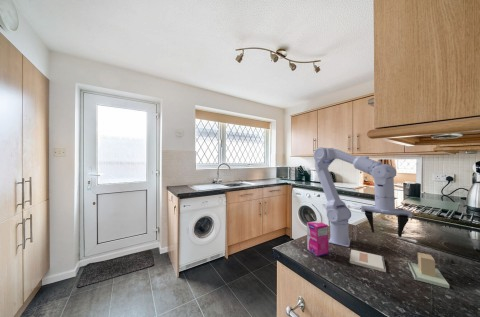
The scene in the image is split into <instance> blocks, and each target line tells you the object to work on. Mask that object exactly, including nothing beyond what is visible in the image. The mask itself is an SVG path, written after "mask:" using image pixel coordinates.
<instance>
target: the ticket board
mask: <svg viewBox="0 0 480 317" xmlns="http://www.w3.org/2000/svg"><path fill="white" fill-rule="evenodd" d="M350 250H351V251H350V255H349V264H353V265H356V266H360V267H364V268H367V269H371V270H376V271H379V272H383V273H387V268H386V264H385V263H386V262H385V260H384V259H385V258H384V255H379V254H374V253H370V252H369V253H368V252H365V251H360V250H356V249H350Z"/></svg>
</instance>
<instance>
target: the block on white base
mask: <svg viewBox="0 0 480 317" xmlns="http://www.w3.org/2000/svg"><path fill="white" fill-rule="evenodd" d="M407 265H408V267H409V270H410V272H411V274H412V276H413V279H414V280H415V281H419V282H424V283H427V284H431V285H435V286H438V287H442V288H446V289H450V284H449V283H448V281H447V280H446V279H445V277H444V276H443V274H442V273H441V272H440V270H439V269H438V267H437V268H436V262H435V259H434V257H433V256H432V255H431V254H429V253H423V252H418V251H417V263H414V262H410V261H408V262H407Z"/></svg>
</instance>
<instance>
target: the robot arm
mask: <svg viewBox="0 0 480 317" xmlns="http://www.w3.org/2000/svg"><path fill="white" fill-rule="evenodd" d="M312 156H313V159H314V169H315V172H316V173H317V177H318V179H319V182H320V185H321V188H322V190H323V193H324V195H325V199H326V201H327V203H326V205H325V210H326V217H327V219H328V220H329V225H330V226H329V229H330V232H329V233H330V236H329V237H330V238H328V244H332V245H333V244H334V245H337V246H342V247H347V248H348V247H350V245H351V238H349V220H350V219H351V217H352V212H351V209H350V208H349V207H348V206H347V204H346V202H345V201H343V200H342V199H341V198H340V195H339V193H338V190H337V188H336V186H335V183H334V181H333V177H332V175H331V174H330V171H329V167H330V165H331V164H333V162H334V161H335V160H337V159H338V160H341V161H344V162H346V163H349V164H350V165H351V164H352V165H353V167H354V169H356V170H358V171H360V172H362V173H365V174H367V175H369V176H371V177H372V178H373V180H374V181H373V182H374V185H373V186H374V204H375V205H374V206H371V205H370V206H368V205H367V206H366V205H361V207H360V210H361V212H362V213H364V214H365V217H366V219H367V222H368V223H369V226H370V230H371V233H375V227H374V214H381V215H391V216H396V217H397V219H396V220H397V236H398V238H402V234H403V231H404V228H405V226H406V225H407V223H408V222H409V220H410V218H413V211H412V210H405V209H399V208H396V205H395V204H396V203H395V202H396V201H395V180H394V178H395V177H396V176H397V170H396V168H395V166H393V165H391V164H389V163H385V164H384V163H382V161H381V160H374V159H371V158H370V157H369V156H368V155H360V156H358V157H357V156H354V155H353V154H350V153H348V152H345V151H343V150H340V149H337V148H333V147H321V146H320V147H317V148H316V149H315V150H314V152H313V154H312Z"/></svg>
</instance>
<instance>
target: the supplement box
mask: <svg viewBox="0 0 480 317" xmlns="http://www.w3.org/2000/svg"><path fill="white" fill-rule="evenodd" d="M306 237H307V238H306V239H307V240H306V242H307V245H306V246H307V251H308V252H310V253H311V254H313V255H315V256H316V257H323V256H326V255H329V254H330V252H329V250H330V249H329V242H328V241H329V225H328V224H326V223H323V222H321V221H318V220H315V221H310V222H309V221H308V222H306Z"/></svg>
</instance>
